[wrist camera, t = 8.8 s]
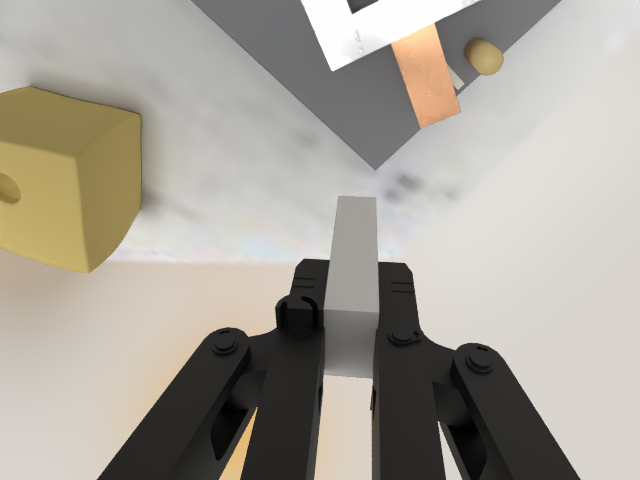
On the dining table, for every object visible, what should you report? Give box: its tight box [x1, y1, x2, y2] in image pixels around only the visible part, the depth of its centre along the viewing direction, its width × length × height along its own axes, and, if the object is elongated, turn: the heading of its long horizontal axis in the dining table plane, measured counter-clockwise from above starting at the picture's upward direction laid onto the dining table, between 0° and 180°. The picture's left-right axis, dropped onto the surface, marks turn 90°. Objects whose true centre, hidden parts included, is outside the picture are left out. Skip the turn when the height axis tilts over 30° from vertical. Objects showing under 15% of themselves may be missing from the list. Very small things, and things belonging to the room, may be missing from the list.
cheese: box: [0, 86, 141, 273], centre depth 34 cm, size 10×11×10 cm
